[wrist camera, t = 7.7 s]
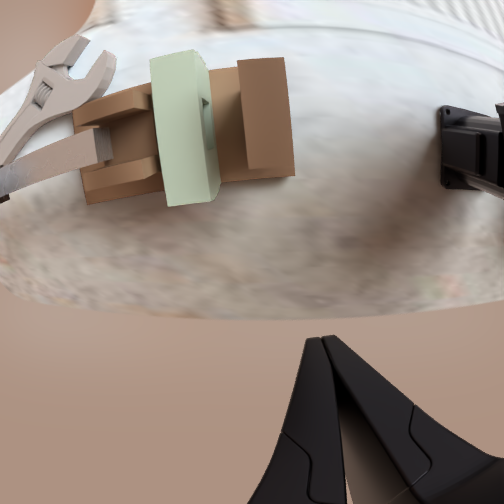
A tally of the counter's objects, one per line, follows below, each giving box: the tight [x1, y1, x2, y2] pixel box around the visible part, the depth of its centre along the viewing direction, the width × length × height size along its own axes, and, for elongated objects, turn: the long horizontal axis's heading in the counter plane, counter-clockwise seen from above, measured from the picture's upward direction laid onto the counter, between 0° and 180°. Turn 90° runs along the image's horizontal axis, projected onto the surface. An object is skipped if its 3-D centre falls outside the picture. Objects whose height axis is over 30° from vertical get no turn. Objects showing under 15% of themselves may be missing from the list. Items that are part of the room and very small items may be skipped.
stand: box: [72, 57, 295, 205], centre depth 12 cm, size 14×7×8 cm, turn 96°
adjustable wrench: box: [0, 34, 117, 166], centre depth 14 cm, size 25×6×2 cm, turn 113°
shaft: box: [0, 127, 114, 204], centre depth 9 cm, size 11×2×6 cm, turn 96°
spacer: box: [150, 49, 221, 207], centre depth 13 cm, size 2×7×5 cm, turn 5°
